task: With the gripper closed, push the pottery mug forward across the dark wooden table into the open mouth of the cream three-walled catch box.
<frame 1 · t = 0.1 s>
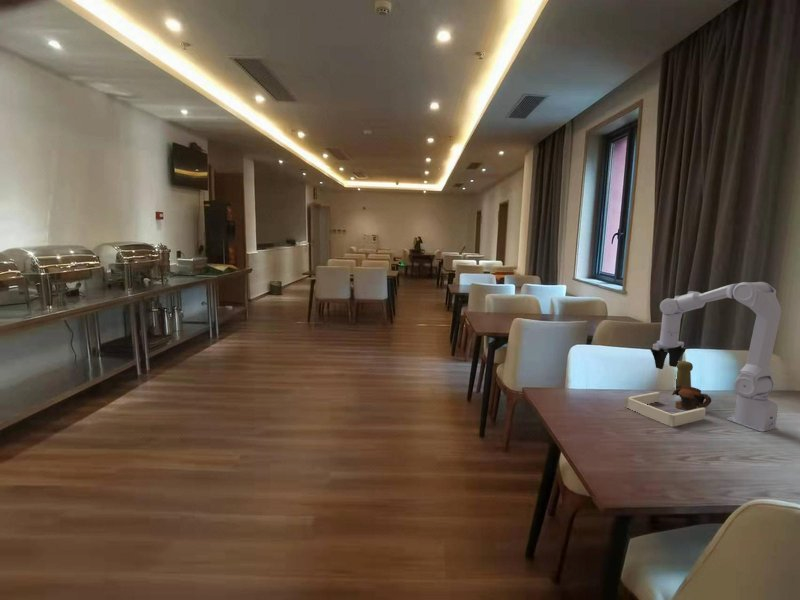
hand: (665, 367, 154), 10 cm above the table, tool pointing down, fingers open, 7 cm apart
cork: (681, 389, 160), on the table
pottery mug: (689, 408, 142), on the table
catch box: (663, 413, 136), on the table
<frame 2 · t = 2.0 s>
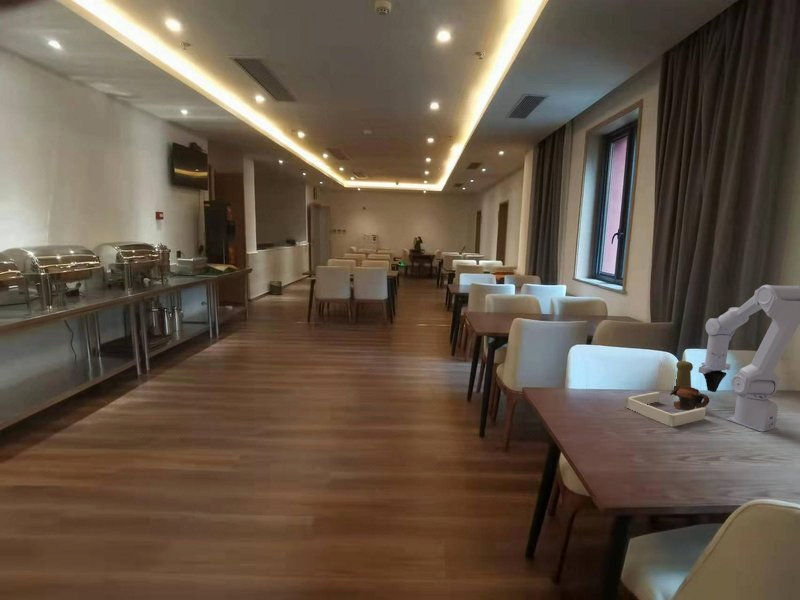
hand: (711, 391, 146), 4 cm above the table, tool pointing down, fingers closed
nothing on the table moved.
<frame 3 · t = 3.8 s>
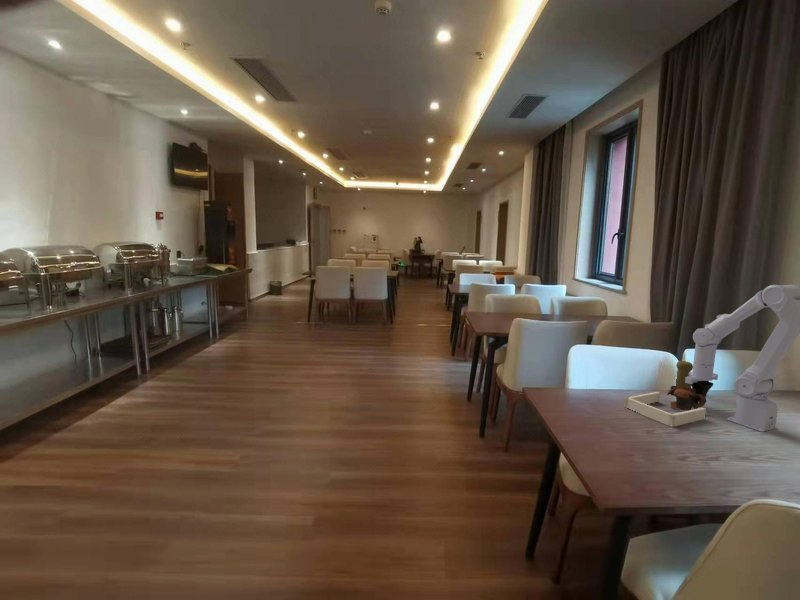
hand: (698, 401, 143), 2 cm above the table, tool pointing down, fingers closed
pottery mug: (685, 408, 141), on the table, touching gripper
everything else where it was.
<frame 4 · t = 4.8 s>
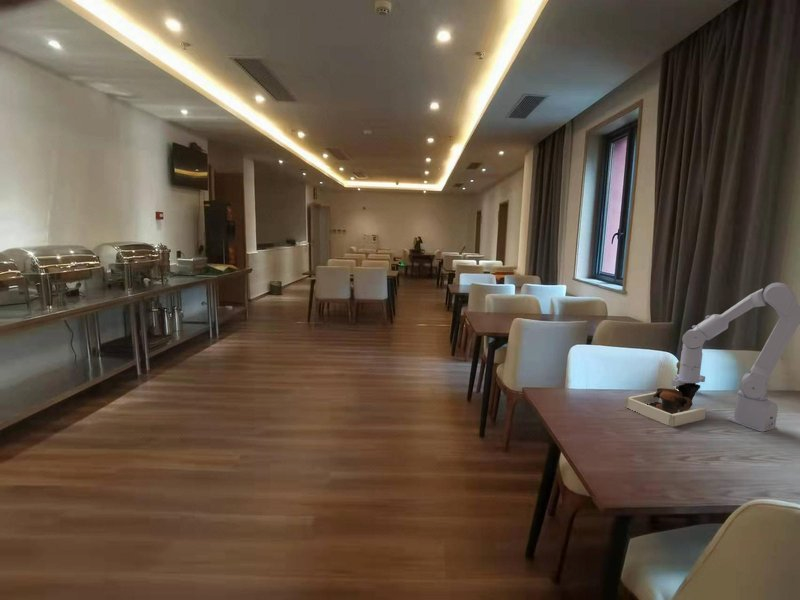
hand: (685, 404, 141), 2 cm above the table, tool pointing down, fingers closed
pottery mug: (671, 411, 139), on the table, touching gripper
everything else where it was.
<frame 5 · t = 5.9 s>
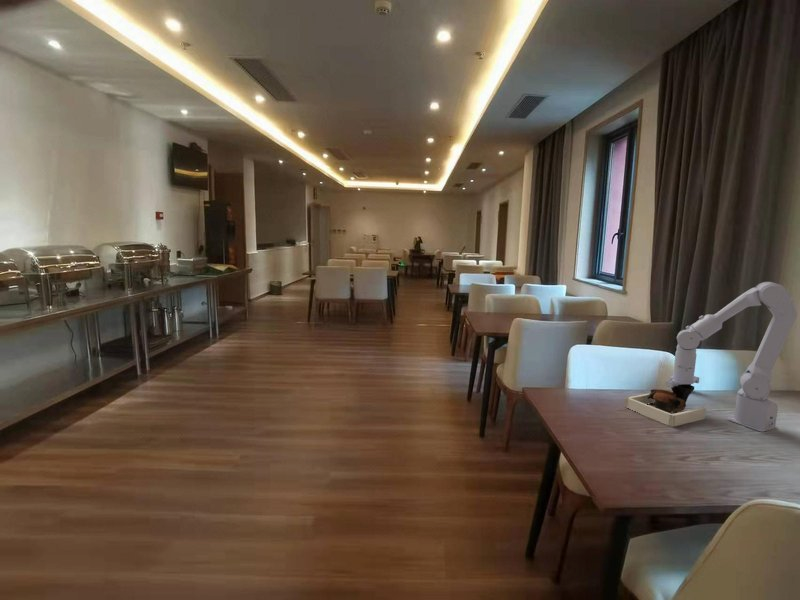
hand: (679, 405, 139), 1 cm above the table, tool pointing down, fingers closed
pottery mug: (664, 412, 137), on the table, touching gripper
everything else where it was.
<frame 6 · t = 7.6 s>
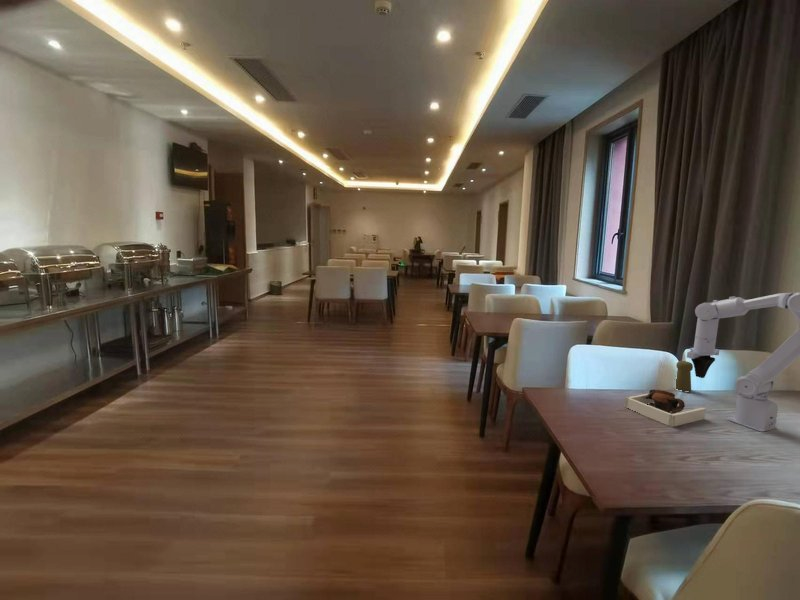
hand: (700, 377, 142), 10 cm above the table, tool pointing down, fingers closed
pottery mug: (663, 413, 137), on the table
everything else where it was.
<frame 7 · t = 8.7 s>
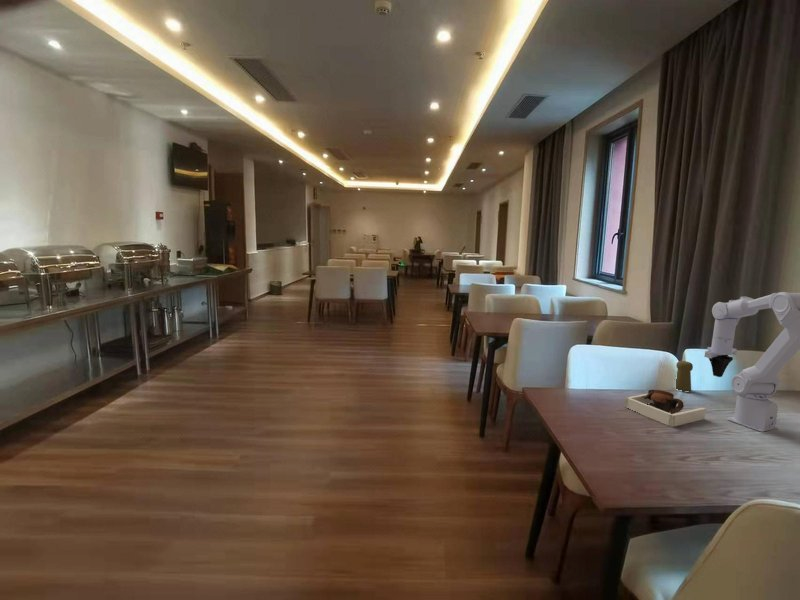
hand: (717, 376, 143), 10 cm above the table, tool pointing down, fingers closed
nothing on the table moved.
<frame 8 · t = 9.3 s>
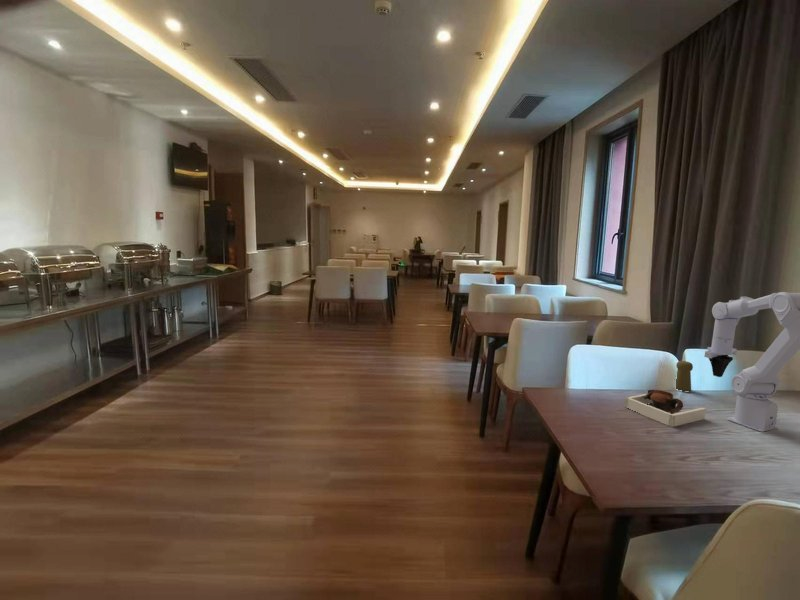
hand: (717, 376, 143), 10 cm above the table, tool pointing down, fingers closed
nothing on the table moved.
at the end: pottery mug inside the target area on the catch box (1.8 cm from its centre), point 0.0 cm above the catch box's base; pottery mug tilted 1°; pottery mug moved 13.6 cm from its start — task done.
